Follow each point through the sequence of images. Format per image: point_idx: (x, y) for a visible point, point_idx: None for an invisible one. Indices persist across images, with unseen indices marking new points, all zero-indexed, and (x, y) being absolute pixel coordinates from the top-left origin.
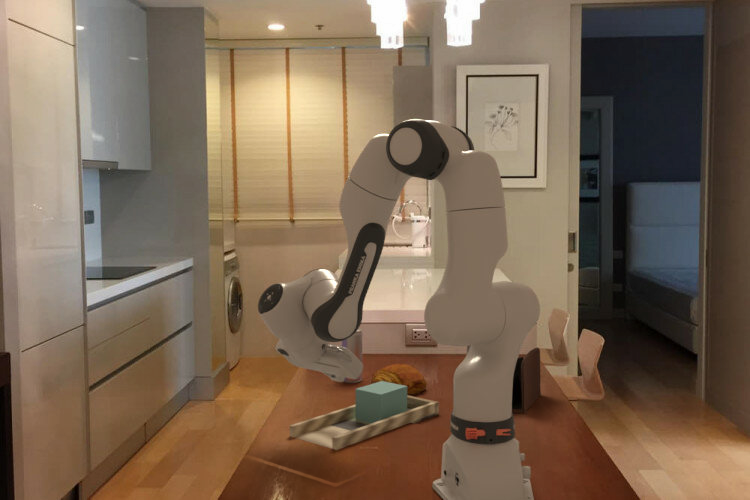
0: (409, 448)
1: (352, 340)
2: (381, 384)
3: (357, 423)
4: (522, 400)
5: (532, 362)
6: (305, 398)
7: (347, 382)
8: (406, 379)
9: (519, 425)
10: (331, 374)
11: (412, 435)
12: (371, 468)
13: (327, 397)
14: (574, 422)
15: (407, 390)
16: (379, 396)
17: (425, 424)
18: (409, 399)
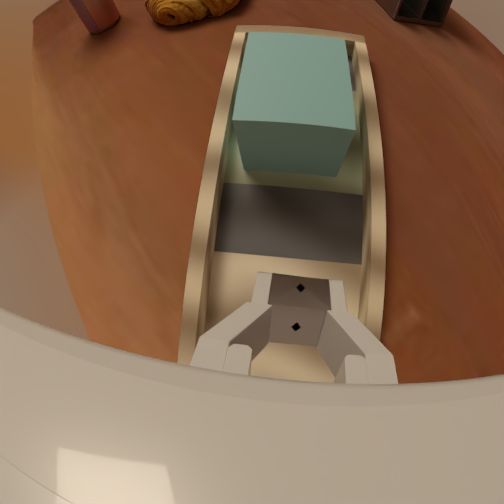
0: (467, 271)
1: None
2: (271, 50)
3: (271, 195)
4: (446, 13)
5: None
6: (63, 124)
7: (101, 31)
8: None
9: (478, 70)
10: (266, 334)
11: (422, 188)
12: None
13: (97, 92)
14: (495, 48)
15: (232, 3)
16: (346, 133)
17: (389, 110)
18: None
